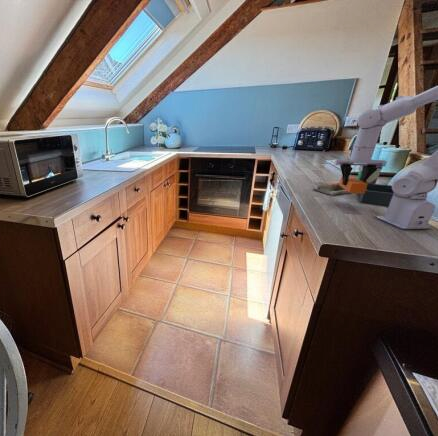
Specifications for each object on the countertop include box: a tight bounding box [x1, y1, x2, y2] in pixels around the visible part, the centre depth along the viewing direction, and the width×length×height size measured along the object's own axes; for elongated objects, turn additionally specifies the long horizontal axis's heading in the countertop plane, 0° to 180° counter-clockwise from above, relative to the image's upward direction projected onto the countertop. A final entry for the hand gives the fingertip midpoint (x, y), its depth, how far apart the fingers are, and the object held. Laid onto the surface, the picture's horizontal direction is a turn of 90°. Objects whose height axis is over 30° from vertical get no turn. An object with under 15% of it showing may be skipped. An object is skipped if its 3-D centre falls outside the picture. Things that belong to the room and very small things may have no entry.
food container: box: [356, 165, 383, 184], centre depth 117 cm, size 12×6×10 cm, turn 113°
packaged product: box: [312, 179, 350, 196], centre depth 111 cm, size 18×5×10 cm
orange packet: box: [339, 176, 368, 194], centre depth 90 cm, size 11×4×4 cm, turn 160°
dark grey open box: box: [357, 183, 394, 207], centre depth 98 cm, size 15×12×5 cm
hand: (352, 185), depth 90 cm, fingers closed on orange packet, 4 cm apart
